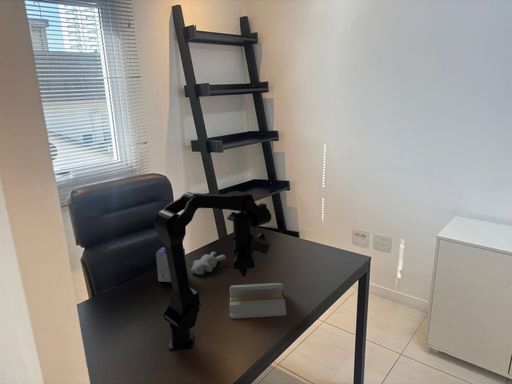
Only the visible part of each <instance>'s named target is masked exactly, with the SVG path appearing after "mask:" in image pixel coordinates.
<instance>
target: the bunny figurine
mask: <svg viewBox="0 0 512 384" xmlns="http://www.w3.org/2000/svg"><path fill="white" fill-rule="evenodd" d="M216 253H217V252H216V251H211V252H210V254H207V253H206V254H204V255H202V256H201V258H200V259H196V260H193V262H192V263H193V264H192V267H191V268H190V272H191V273H193V274H195V275H200V276H202V275H203V276H204V274H205V273H207V272H208V273H211V272H213V269H214V268H216V266H217V263H218V262H220V261H223V260H226V258H227V257H226V255H225V254H221V255H218V256H216V257H215V255H216Z"/></svg>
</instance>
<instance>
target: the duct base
mask: <svg viewBox="0 0 512 384" xmlns="http://www.w3.org/2000/svg"><path fill="white" fill-rule="evenodd" d="M280 316H281V317H282V316H287V310H286V299H285V298H283V288H273V289H255V290H236V291H231V289H230V288H229V319H246V318H251V319H252V318H265V317H280Z"/></svg>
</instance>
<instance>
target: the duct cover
mask: <svg viewBox="0 0 512 384" xmlns="http://www.w3.org/2000/svg"><path fill="white" fill-rule="evenodd" d="M273 288H282V289H284V284H282V283H281V282H274V283H273V282H272V283H253V284H252V283H251V284H236V285H235V284H234V285H230V287H229V290H230V289H231V291H236V290H255V289H273Z"/></svg>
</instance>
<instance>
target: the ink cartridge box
mask: <svg viewBox="0 0 512 384" xmlns="http://www.w3.org/2000/svg"><path fill="white" fill-rule="evenodd" d="M183 249H184V255H185V256H186V249H185V248H184V247H183ZM155 256H156V266H157V267H156V268H157V269H156V270H157V280H158V282H160V283H161V282H162V283H163V282H165V283H171V277H170V272H169V267H168V261H167V256H166V251H165V246H164V247H161V248H159V249H158V250H157V251H156V252H155ZM185 261H186V258H185ZM186 262H187V261H186Z"/></svg>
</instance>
